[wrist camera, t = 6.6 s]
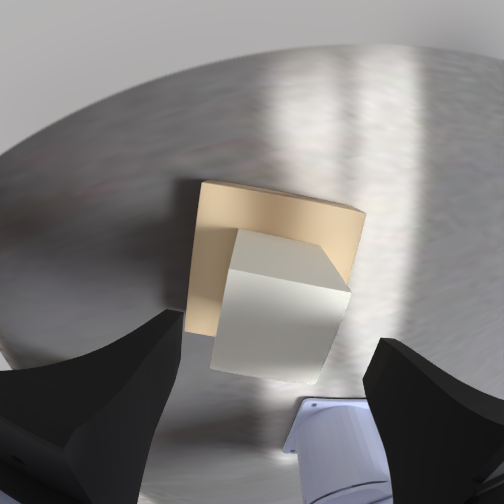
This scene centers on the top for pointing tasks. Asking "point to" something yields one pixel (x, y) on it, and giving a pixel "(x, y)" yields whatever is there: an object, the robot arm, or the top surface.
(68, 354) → the top surface
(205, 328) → the oak block
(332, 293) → the white block
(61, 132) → the top surface
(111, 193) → the top surface
